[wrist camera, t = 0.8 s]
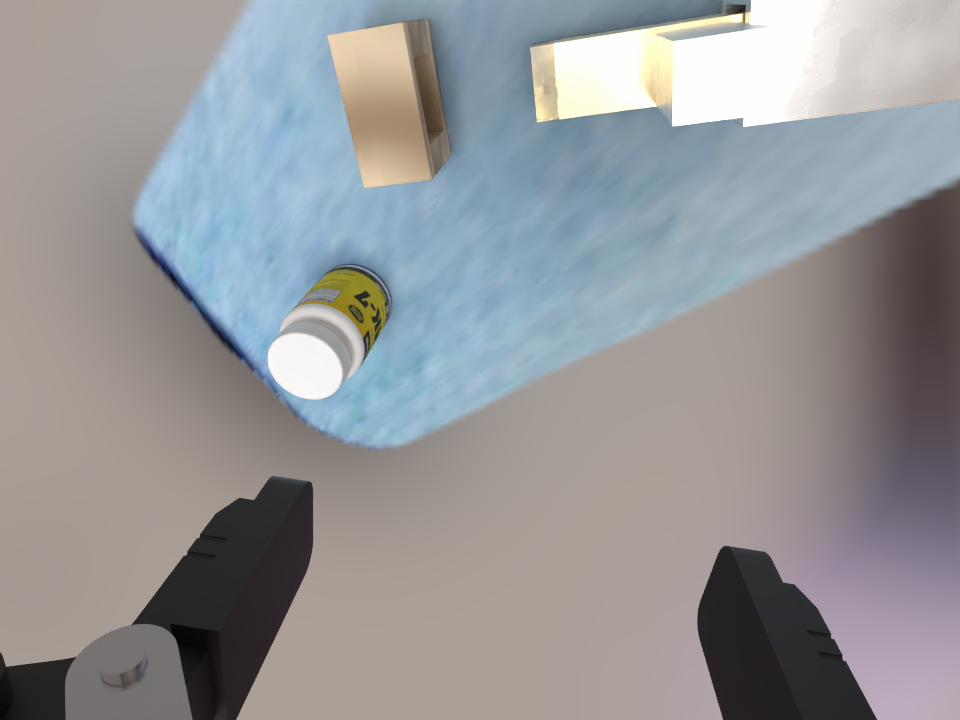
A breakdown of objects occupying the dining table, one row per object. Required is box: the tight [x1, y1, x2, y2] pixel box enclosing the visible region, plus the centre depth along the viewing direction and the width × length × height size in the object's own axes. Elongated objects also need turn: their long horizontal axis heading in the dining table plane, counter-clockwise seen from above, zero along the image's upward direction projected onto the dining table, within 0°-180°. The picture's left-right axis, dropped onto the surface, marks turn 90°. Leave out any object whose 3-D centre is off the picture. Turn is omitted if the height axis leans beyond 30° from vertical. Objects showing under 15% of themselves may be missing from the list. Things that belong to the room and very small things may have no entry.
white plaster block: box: [721, 0, 960, 127], centre depth 25 cm, size 5×11×5 cm, turn 99°
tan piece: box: [530, 9, 773, 126], centre depth 23 cm, size 3×18×9 cm, turn 99°
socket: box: [327, 19, 451, 188], centre depth 28 cm, size 6×3×5 cm, turn 9°
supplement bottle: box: [268, 265, 391, 399], centre depth 34 cm, size 5×5×8 cm
